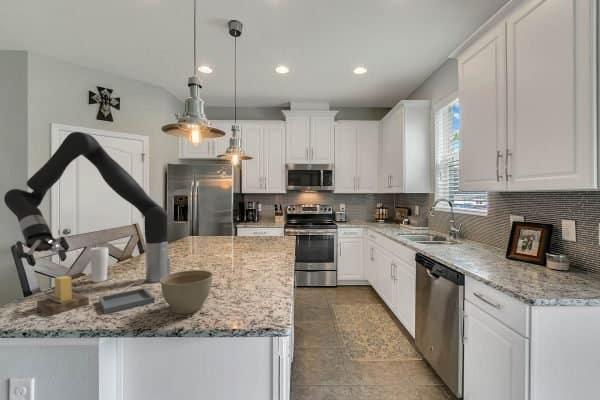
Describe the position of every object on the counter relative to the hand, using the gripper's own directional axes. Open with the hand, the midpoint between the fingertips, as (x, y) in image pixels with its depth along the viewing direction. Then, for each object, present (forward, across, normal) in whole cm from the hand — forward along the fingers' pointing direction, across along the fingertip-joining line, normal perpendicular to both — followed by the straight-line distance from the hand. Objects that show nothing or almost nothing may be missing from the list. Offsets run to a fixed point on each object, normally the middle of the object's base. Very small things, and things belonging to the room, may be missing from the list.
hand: (49, 262), depth 100 cm
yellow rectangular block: (+18, 0, +3) cm, 18 cm away
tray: (+29, +12, -9) cm, 32 cm away
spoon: (+19, +21, +2) cm, 28 cm away
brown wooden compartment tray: (+17, 0, +3) cm, 18 cm away
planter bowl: (+46, +18, -26) cm, 56 cm away
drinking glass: (+2, +22, +18) cm, 28 cm away
